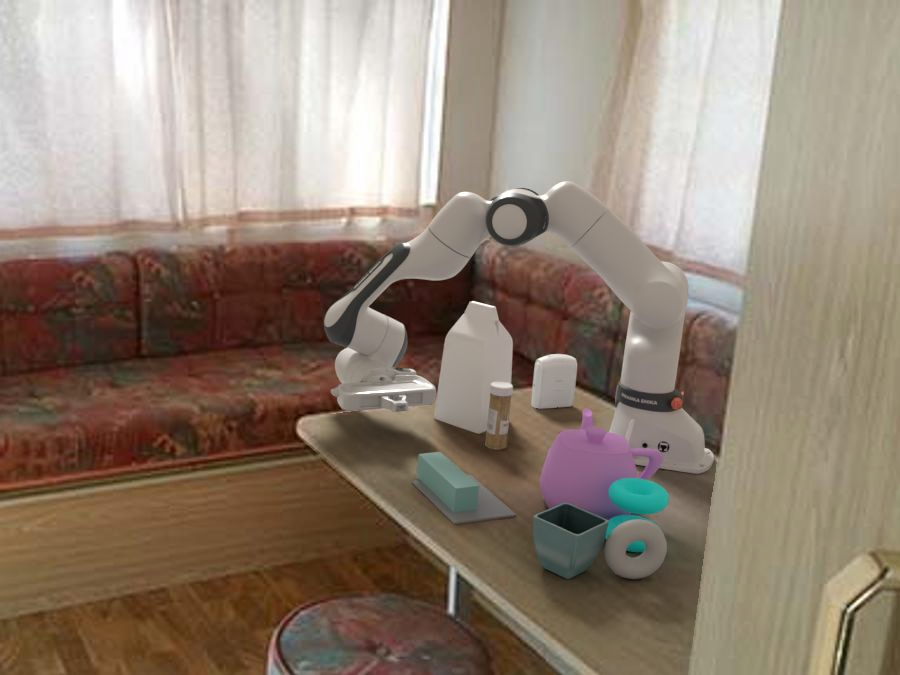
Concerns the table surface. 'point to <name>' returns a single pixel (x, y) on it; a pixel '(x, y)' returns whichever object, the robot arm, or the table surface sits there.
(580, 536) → the flower pot
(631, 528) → the donut
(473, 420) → the milk
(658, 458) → the teapot
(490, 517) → the grey mat
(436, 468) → the teal block
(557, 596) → the table surface
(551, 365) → the photo printer
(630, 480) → the donuts
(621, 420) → the robot arm
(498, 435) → the sprinkles bottle
